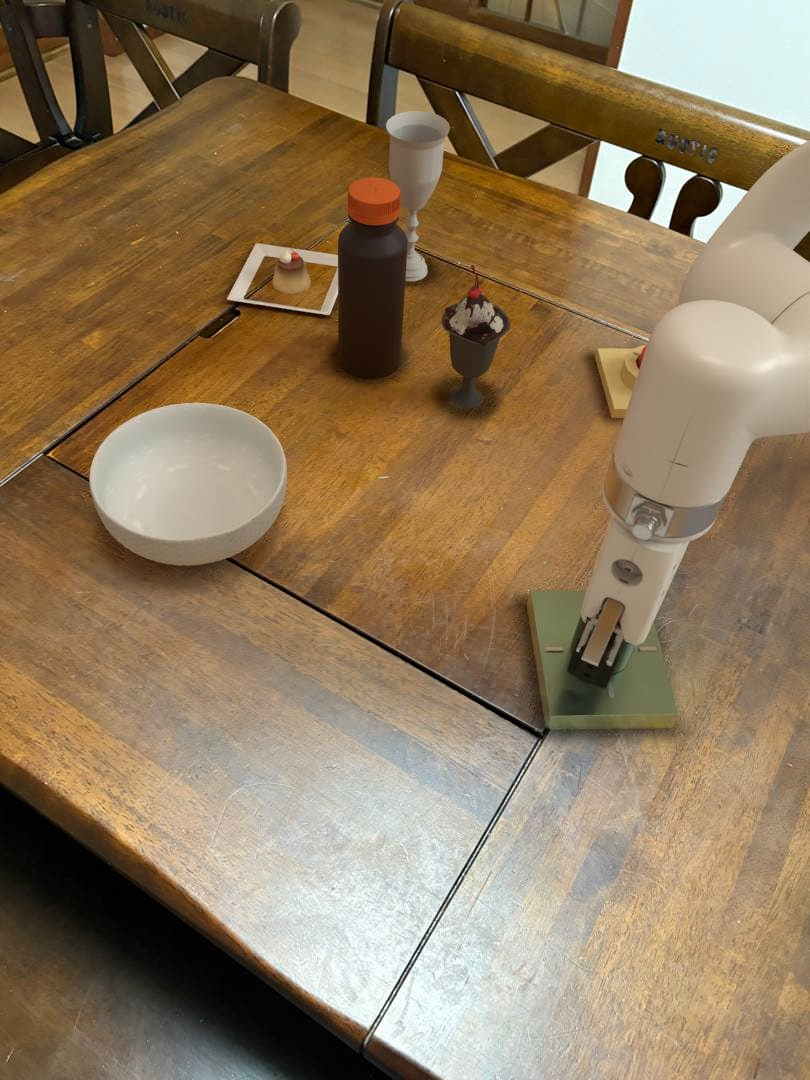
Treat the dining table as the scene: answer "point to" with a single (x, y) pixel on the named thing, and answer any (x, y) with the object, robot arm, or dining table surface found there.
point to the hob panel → (578, 705)
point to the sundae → (473, 340)
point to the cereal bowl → (189, 483)
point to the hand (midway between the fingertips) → (605, 638)
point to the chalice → (416, 170)
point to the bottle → (371, 280)
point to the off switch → (618, 376)
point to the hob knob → (624, 649)
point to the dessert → (286, 275)
